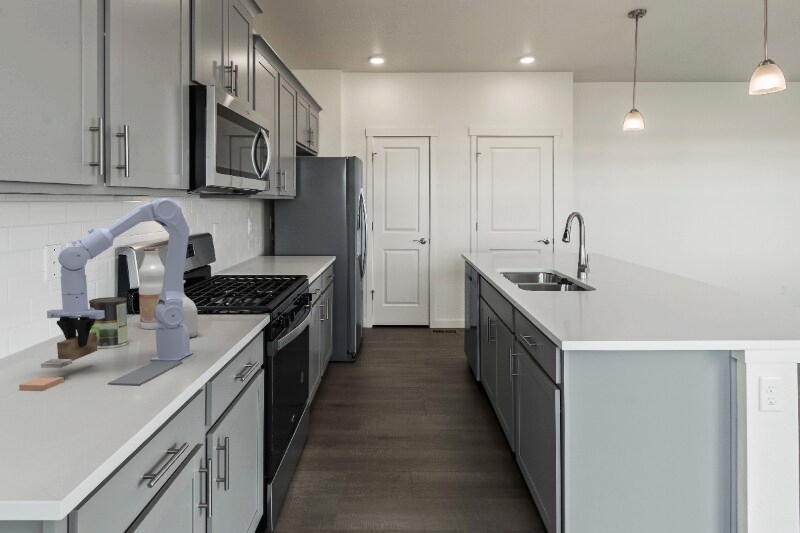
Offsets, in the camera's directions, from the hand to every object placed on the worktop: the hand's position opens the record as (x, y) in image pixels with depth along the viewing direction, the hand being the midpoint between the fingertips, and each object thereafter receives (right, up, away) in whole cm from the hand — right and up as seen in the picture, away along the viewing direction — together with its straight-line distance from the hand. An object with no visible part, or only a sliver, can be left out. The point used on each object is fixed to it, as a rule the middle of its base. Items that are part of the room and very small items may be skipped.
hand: (77, 346), depth 155 cm
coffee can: (-6, -4, +31) cm, 31 cm away
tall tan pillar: (0, -3, -2) cm, 3 cm away
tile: (-1, -7, -9) cm, 12 cm away
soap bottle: (+11, -3, +41) cm, 43 cm away
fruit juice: (-4, -1, +58) cm, 58 cm away
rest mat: (+19, -7, -2) cm, 20 cm away
